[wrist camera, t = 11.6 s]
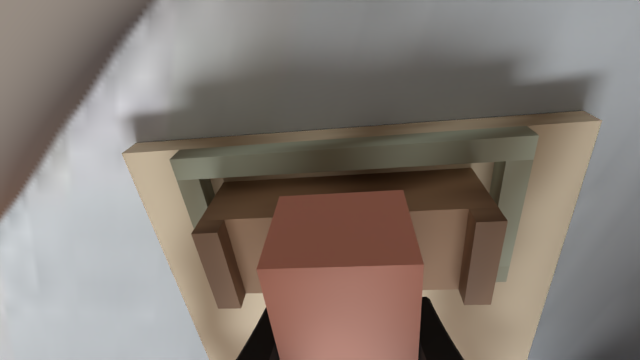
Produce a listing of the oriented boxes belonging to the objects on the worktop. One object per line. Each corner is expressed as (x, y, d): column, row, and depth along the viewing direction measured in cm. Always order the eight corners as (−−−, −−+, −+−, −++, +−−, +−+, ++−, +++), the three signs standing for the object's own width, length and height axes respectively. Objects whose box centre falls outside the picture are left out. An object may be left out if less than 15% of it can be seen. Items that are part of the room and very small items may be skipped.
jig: (583, 110, 14) (620, 130, 12) (514, 355, 22) (530, 390, 20) (136, 143, 16) (108, 163, 15) (220, 354, 24) (209, 386, 23)
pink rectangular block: (403, 189, 10) (424, 264, 7) (399, 360, 14) (412, 449, 11) (279, 196, 10) (256, 269, 8) (310, 360, 14) (302, 446, 11)
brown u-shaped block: (471, 167, 15) (508, 220, 11) (462, 241, 16) (491, 304, 13) (223, 182, 16) (190, 233, 12) (242, 248, 18) (218, 308, 14)
